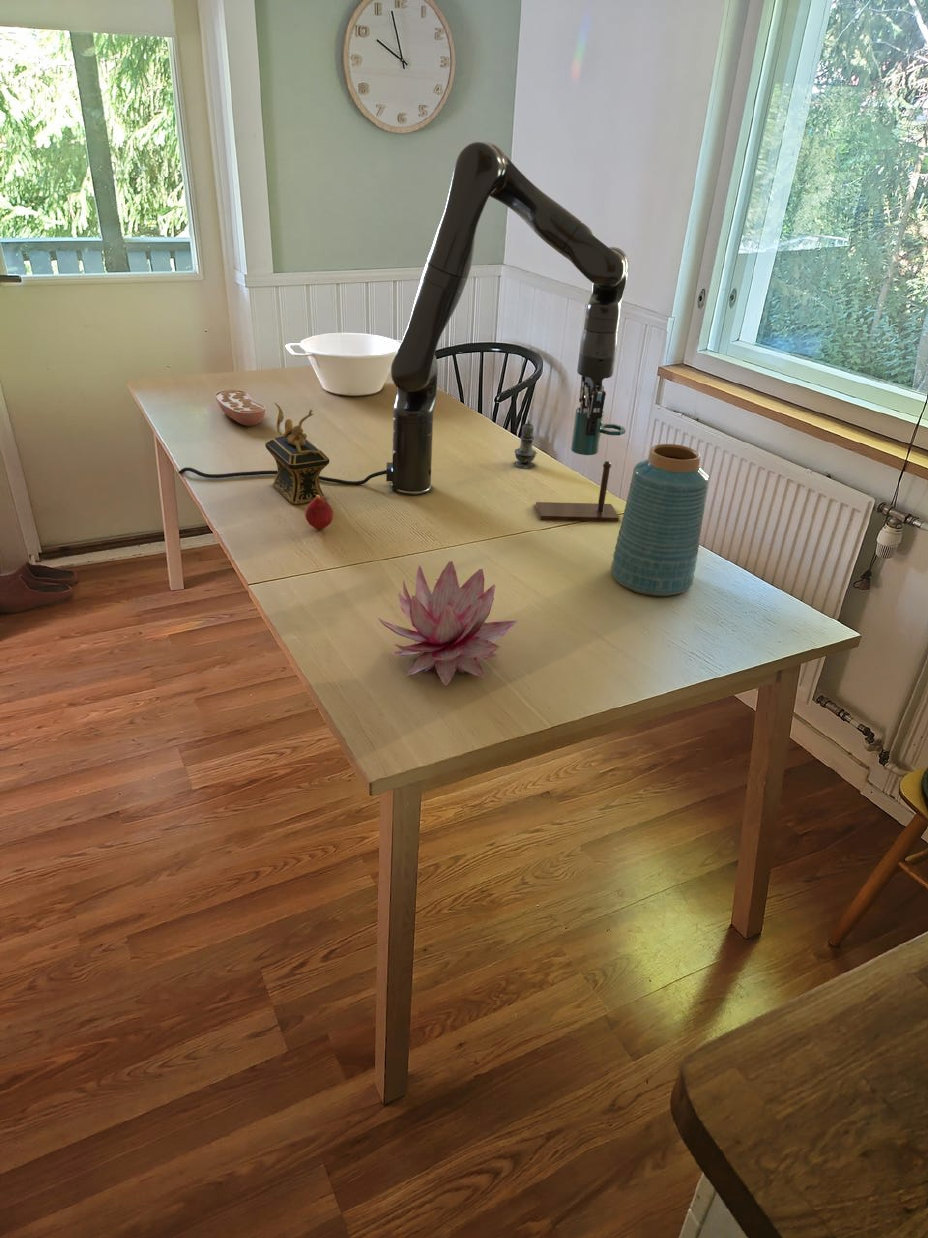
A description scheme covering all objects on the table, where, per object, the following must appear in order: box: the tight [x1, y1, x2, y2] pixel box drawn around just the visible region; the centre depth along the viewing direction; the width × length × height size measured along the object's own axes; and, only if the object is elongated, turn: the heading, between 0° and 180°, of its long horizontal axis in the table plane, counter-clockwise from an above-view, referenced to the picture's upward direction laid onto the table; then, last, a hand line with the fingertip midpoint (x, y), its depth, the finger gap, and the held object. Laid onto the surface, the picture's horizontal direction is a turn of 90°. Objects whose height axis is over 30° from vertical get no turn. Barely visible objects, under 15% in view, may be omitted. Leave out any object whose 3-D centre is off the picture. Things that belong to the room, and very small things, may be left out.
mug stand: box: [535, 460, 620, 523], centre depth 191 cm, size 18×8×13 cm, turn 94°
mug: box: [570, 406, 626, 456], centre depth 184 cm, size 11×6×9 cm, turn 94°
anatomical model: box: [214, 389, 266, 427], centre depth 238 cm, size 23×10×5 cm, turn 32°
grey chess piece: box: [513, 419, 538, 470], centre depth 217 cm, size 6×6×12 cm
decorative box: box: [264, 402, 330, 505], centre depth 192 cm, size 20×10×20 cm, turn 31°
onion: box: [304, 495, 334, 531], centre depth 177 cm, size 6×6×8 cm
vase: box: [610, 443, 710, 597], centre depth 161 cm, size 16×16×27 cm
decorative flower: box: [376, 560, 518, 686], centre depth 134 cm, size 21×21×15 cm
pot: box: [285, 332, 402, 397], centre depth 268 cm, size 40×32×14 cm
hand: (587, 429), depth 184 cm, fingers closed on mug, 6 cm apart
